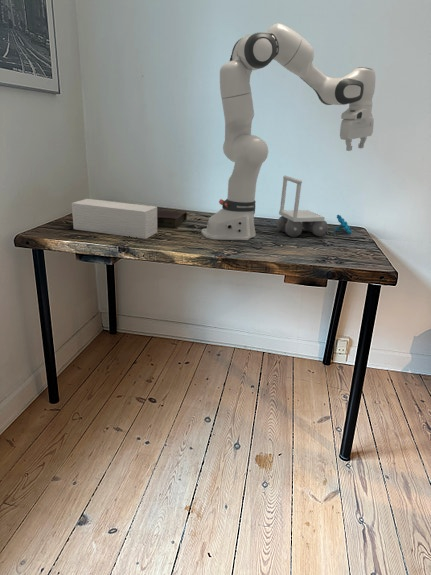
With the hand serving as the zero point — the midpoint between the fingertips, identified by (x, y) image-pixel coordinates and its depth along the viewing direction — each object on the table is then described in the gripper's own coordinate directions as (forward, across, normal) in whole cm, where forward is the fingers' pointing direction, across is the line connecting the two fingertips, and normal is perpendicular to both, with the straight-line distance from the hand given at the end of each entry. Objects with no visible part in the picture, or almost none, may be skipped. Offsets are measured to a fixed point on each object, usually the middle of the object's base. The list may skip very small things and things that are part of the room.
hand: (354, 149), depth 171 cm
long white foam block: (+28, +85, -54) cm, 105 cm away
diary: (+30, +63, -58) cm, 91 cm away
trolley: (+33, +23, -8) cm, 41 cm away
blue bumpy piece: (+35, +4, +1) cm, 35 cm away
